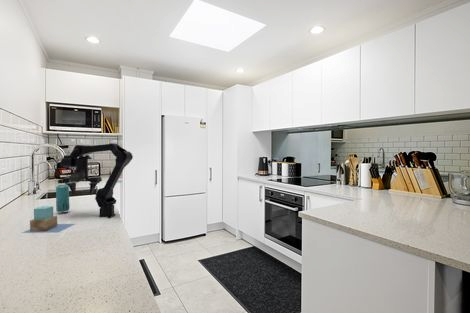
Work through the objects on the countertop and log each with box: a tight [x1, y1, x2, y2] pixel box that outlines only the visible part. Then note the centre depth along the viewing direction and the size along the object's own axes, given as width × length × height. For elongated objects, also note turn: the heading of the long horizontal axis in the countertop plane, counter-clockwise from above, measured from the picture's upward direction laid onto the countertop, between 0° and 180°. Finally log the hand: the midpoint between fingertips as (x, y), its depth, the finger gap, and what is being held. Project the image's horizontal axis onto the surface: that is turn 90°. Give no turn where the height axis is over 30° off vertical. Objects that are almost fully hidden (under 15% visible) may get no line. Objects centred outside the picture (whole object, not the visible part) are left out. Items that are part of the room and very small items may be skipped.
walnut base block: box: [29, 215, 58, 231], centre depth 109 cm, size 7×7×5 cm
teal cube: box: [33, 205, 54, 220], centre depth 109 cm, size 5×5×5 cm
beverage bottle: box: [55, 178, 70, 213], centre depth 139 cm, size 6×7×20 cm
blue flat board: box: [21, 223, 76, 234], centre depth 110 cm, size 16×12×1 cm
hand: (82, 194), depth 132 cm, fingers open, 9 cm apart
